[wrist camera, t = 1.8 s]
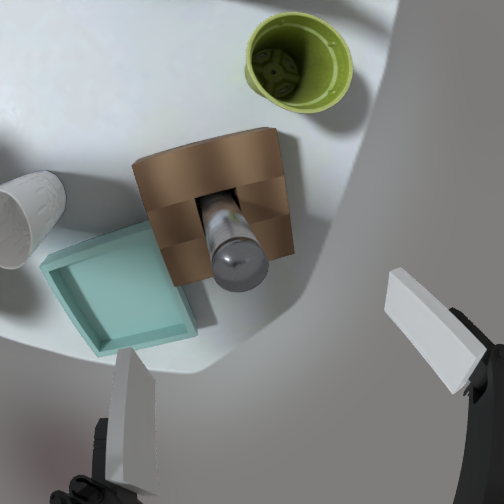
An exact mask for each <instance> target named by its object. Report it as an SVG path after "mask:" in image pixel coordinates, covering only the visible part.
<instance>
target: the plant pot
mask: <svg viewBox="0 0 504 504" xmlns="http://www.w3.org/2000/svg"><path fill="white" fill-rule="evenodd" d="M263 53H266V56H263V57H261V58H259V59H258V60H256V58H257V57H258V56H259V55H260V54H263ZM285 59H288V60H289V61H290V62H291V63H292V65H293V68H291V67H290V65H289V63H288V62H287V61H286V60H285ZM272 70H274V71H275V72H276V74H272V73H271V71H272ZM245 76H246V80H247V82H248V84H249V86H250V87H251V88H252V89H253V90H254V91H255V92H256V93H257V94H259V95H261V96H263V97H266V98H267V99H269V100H270V101H271V102H272V103H274V104H276V105H277V106H279V107H281V108H283V109H286V110H289V111H292V112H297V113H307V114H309V113H317V112H321V111H324V110H326V109H328V108H330V107H332V106H333V105H335V104H336V103H337V102H339V101H340V100H341V99H342V98H343V96H344V95H345V93H346V92H347V90H348V88H349V86H350V83H351V80H352V76H353V62H352V57H351V54H350V50H349V48H348V46H347V44H346V42H345V41H344V39H343V38H342V36H341V35H340V34H339V33H338V32H337V31H336V30H335V29H334V28H333V27H332V26H331V25H329V24H328V23H327V22H325V21H324V20H322V19H320V18H318V17H316V16H313V15H310V14H306V13H301V12H285V13H280V14H276V15H274V16H271V17H269V18H268V19H266V20H264V21H263V22H262V23H261V24H260V25H259V26H258V27H257V28H256V29H255V30H254V32H253V33H252V35H251V37H250V39H249V42H248V45H247V50H246V67H245ZM286 86H289V88H288V90H286V91H285V92H282V93H279V90H282V89H284V88H285V87H286Z"/></svg>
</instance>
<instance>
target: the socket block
mask: <svg viewBox="0 0 504 504" xmlns="http://www.w3.org/2000/svg"><path fill="white" fill-rule="evenodd" d="M132 169H133V172H134V175H135V179H136V182H137V185H138V188H139V192H140V195H141V198H142V201H143V204H144V207H145V210H146V213H147V216H148V219H149V222H150V224H151V227H152V230H153V233H154V236H155V238H156V241H157V244H158V246H159V249H160V252H161V254H162V257H163V260H164V262H165V265H166V267H167V270H168V272H169V275H170V277H171V280H172V282H173V285H174V287H177V286H181V285H184V284H188V283H192V282H195V281H199V280H203V279H206V278H210V277H213V276H214V275H213V271H212V266H211V261H210V255H209V250H208V245H207V240H206V234H205V229H204V223H203V222H202V219H201V216H200V212H199V208H198V205H197V201H196V198H197V197H200V196H204V195H208V194H211V193H215V192H219V191H223V190H227V189H230V188H232V190H233V194H234V199H235V202H236V204H237V206H238V208H239V209H240V211H241V213H242V214H243V216H244V218H245V220H246V221H247V223H248V225H249V227H250V228H251V230H252V232H253V233H254V235H255V237H256V239H257V240H258V242H259V244H260V246H261V247H262V249H263V251H264V253H265V254H266V256H267V259H268V261H270V260H274V259H277V258H281V257H284V256H287V255H291V254H294V245H293V237H292V229H291V222H290V214H289V207H288V200H287V193H286V186H285V180H284V173H283V167H282V160H281V154H280V148H279V142H278V136H277V130H276V128H269V127H262V128H257V129H251V130H246V131H241V132H236V133H232V134H227V135H223V136H218V137H214V138H210V139H206V140H202V141H198V142H194V143H190V144H187V145H183V146H180V147H176V148H173V149H169V150H166V151H162V152H159V153H156V154H153V155H150V156H147V157H144V158H141V159H138V160H137V161H136V162H135V163H133V164H132Z"/></svg>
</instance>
